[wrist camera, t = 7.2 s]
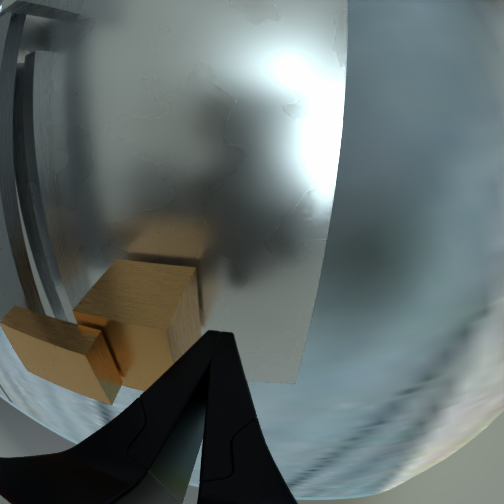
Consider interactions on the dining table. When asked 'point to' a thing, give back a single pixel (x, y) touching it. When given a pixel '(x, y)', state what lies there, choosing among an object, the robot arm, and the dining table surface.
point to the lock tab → (113, 331)
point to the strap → (12, 183)
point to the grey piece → (184, 154)
